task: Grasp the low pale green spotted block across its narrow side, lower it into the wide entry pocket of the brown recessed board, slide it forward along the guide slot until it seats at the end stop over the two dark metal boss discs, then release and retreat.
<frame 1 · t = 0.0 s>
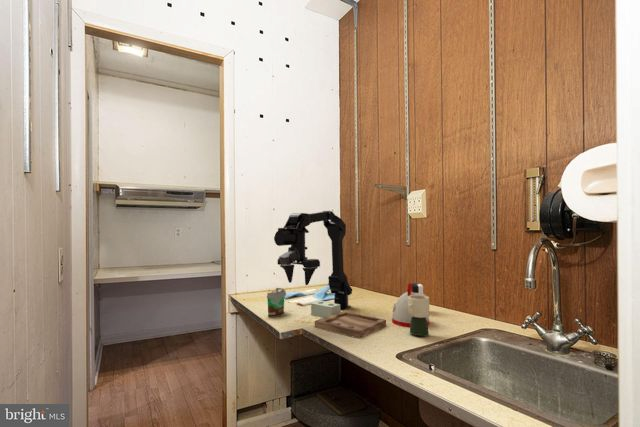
hand: (298, 283, 135), 15 cm above the worktop, tool pointing down, fingers open, 9 cm apart
pale green spotted block: (325, 315, 143), on the worktop
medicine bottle: (416, 312, 148), on the worktop
rubber gloves: (309, 298, 180), on the worktop
food container: (278, 314, 146), on the worktop
kitchen timer: (410, 323, 132), on the worktop
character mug: (419, 335, 117), on the worktop
brown recessed board: (350, 326, 128), on the worktop
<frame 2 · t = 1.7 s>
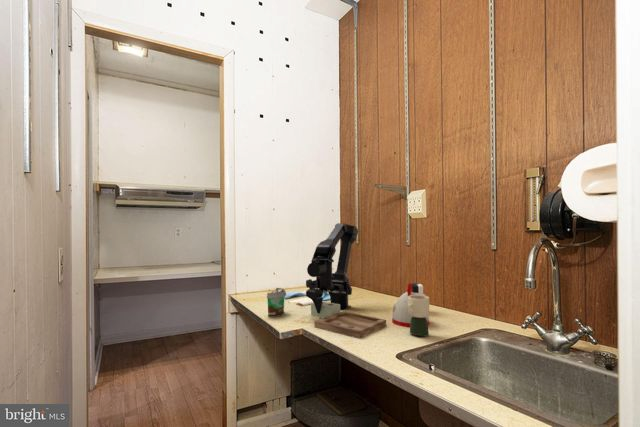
hand: (325, 311, 143), 2 cm above the worktop, tool pointing down, fingers open, 9 cm apart
nothing on the worktop moved.
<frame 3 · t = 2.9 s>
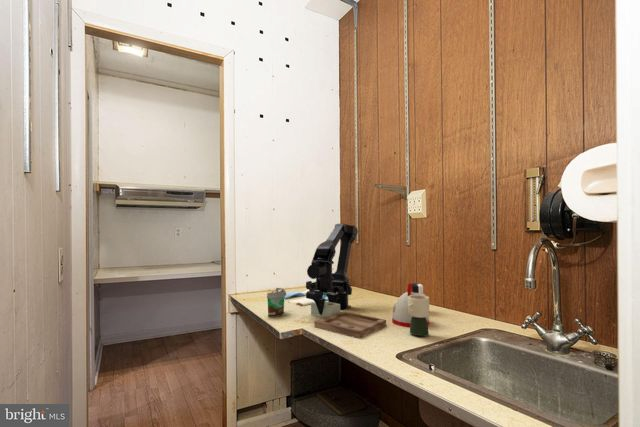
hand: (325, 312, 143), 1 cm above the worktop, tool pointing down, fingers closed on pale green spotted block, 6 cm apart
pale green spotted block: (325, 315, 143), on the worktop, touching gripper
everything else where it was.
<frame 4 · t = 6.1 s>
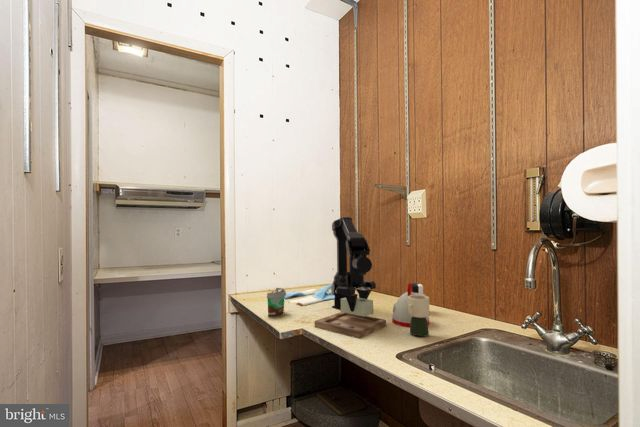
hand: (356, 309, 131), 5 cm above the worktop, tool pointing down, fingers closed on pale green spotted block, 6 cm apart
pale green spotted block: (356, 312, 131), point 4 cm above the worktop, touching gripper
everything else where it was.
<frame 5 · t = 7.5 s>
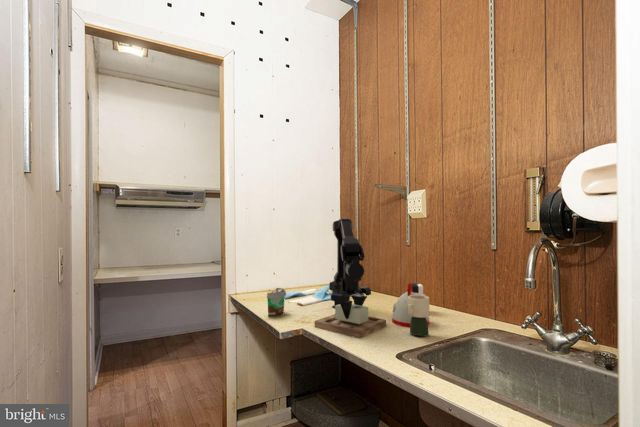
hand: (351, 316, 128), 3 cm above the worktop, tool pointing down, fingers closed on pale green spotted block, 6 cm apart
pale green spotted block: (351, 319, 128), point 2 cm above the worktop, touching gripper
everything else where it was.
when the fingers open (3 cm above the worktop, at t = 9.0 s): pale green spotted block stays where it is, resting on brown recessed board.
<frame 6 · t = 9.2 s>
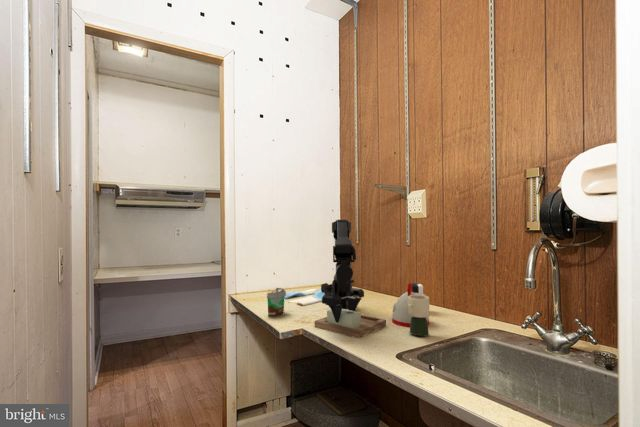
hand: (344, 319, 125), 3 cm above the worktop, tool pointing down, fingers open, 8 cm apart
pale green spotted block: (343, 325, 125), point 1 cm above the worktop, touching brown recessed board
everything else where it was.
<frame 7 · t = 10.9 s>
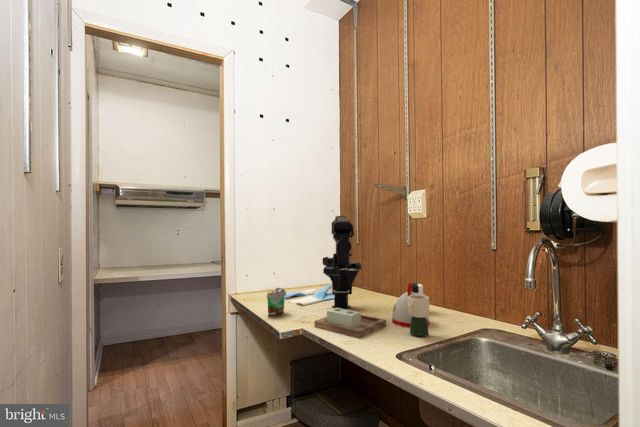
hand: (343, 289, 140), 12 cm above the worktop, tool pointing down, fingers open, 9 cm apart
nothing on the worktop moved.
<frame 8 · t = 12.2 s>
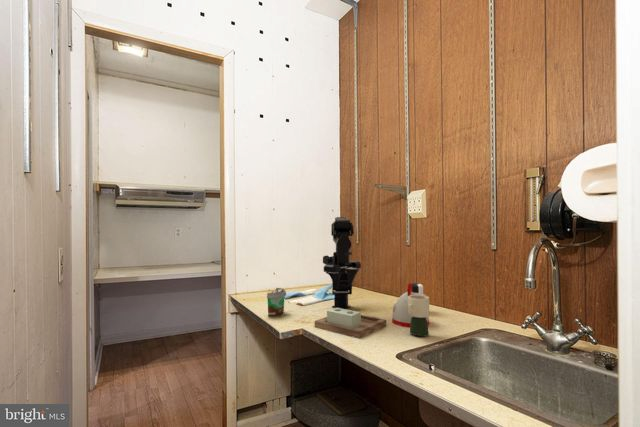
hand: (343, 287, 141), 12 cm above the worktop, tool pointing down, fingers open, 9 cm apart
nothing on the worktop moved.
at the end: pale green spotted block inside the target area on the brown recessed board (0.3 cm from its centre), point 1.2 cm above the brown recessed board's base; pale green spotted block tilted 0°; the gripper is holding nothing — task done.
